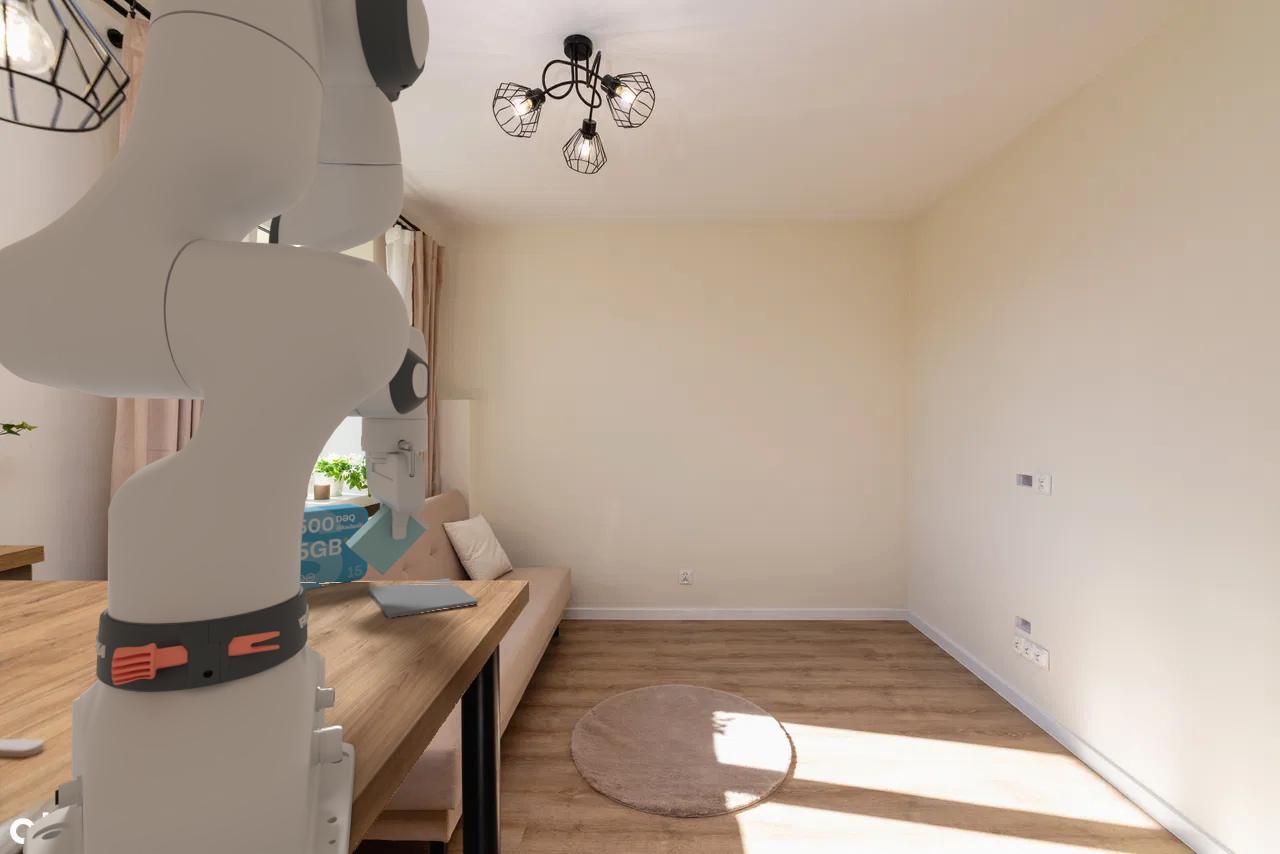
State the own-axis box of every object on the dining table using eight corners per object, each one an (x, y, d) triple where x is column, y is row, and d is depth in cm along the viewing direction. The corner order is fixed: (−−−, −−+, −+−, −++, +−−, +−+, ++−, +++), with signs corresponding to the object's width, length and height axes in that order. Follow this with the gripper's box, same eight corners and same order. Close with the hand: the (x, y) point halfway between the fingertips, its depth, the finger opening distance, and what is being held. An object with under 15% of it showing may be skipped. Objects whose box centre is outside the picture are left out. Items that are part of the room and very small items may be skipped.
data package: (288, 593, 93) (289, 513, 93) (277, 587, 96) (278, 509, 96) (367, 578, 102) (369, 505, 102) (355, 573, 105) (356, 502, 105)
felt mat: (477, 604, 89) (477, 600, 89) (388, 618, 83) (388, 613, 83) (448, 581, 101) (448, 578, 101) (368, 592, 94) (368, 588, 94)
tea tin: (383, 576, 87) (431, 526, 90) (349, 548, 84) (400, 498, 88) (377, 569, 90) (423, 522, 94) (344, 542, 88) (393, 494, 91)
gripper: (438, 442, 82) (436, 546, 83) (401, 435, 99) (400, 522, 100) (387, 443, 79) (386, 551, 79) (358, 435, 96) (357, 525, 96)
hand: (394, 535), depth 90 cm, fingers closed on tea tin, 4 cm apart
